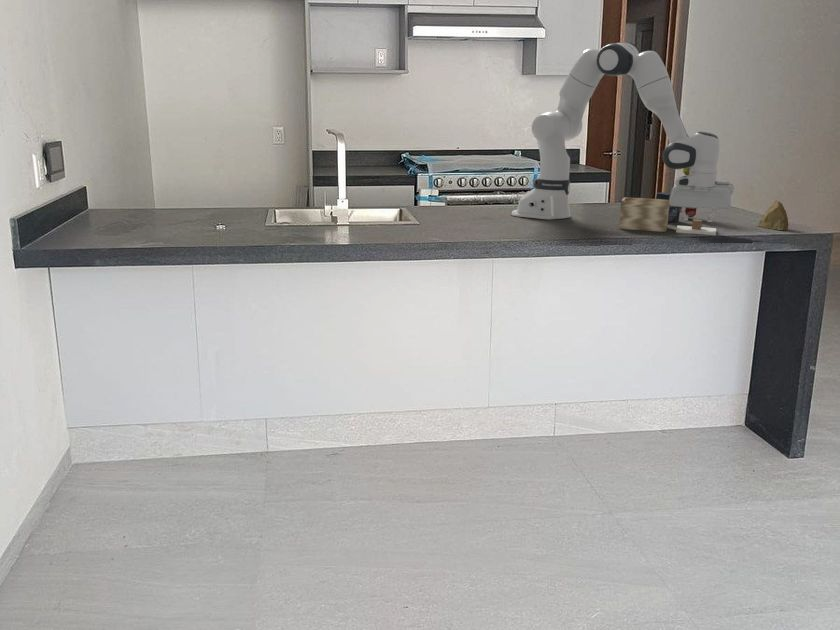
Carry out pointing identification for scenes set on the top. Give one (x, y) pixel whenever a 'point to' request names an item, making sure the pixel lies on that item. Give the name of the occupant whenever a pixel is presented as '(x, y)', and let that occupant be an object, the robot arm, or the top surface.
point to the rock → (775, 217)
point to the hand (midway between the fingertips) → (697, 220)
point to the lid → (696, 228)
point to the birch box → (644, 214)
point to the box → (670, 207)
